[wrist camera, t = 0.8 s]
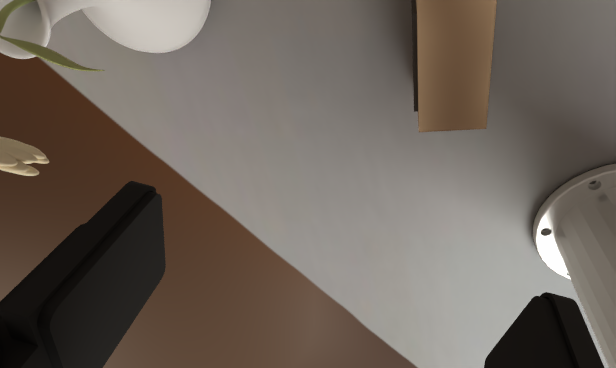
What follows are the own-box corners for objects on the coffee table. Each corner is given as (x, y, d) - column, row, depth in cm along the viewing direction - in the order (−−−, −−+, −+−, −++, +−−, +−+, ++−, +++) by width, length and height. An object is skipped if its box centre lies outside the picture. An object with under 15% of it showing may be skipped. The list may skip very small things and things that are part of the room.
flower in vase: (67, -3, 33) (-472, 139, 13) (92, -165, 26) (-929, -396, 6) (209, 83, 35) (-68, 329, 15) (265, -48, 28) (-95, 66, 8)
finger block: (478, -31, 26) (497, -13, 21) (471, 87, 31) (486, 128, 25) (411, -21, 27) (412, -2, 22) (413, 92, 32) (414, 132, 26)
